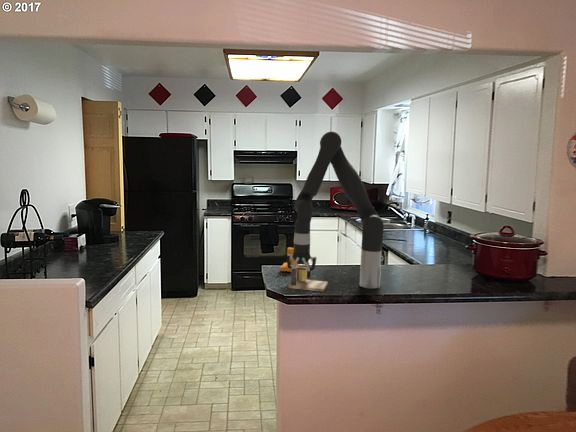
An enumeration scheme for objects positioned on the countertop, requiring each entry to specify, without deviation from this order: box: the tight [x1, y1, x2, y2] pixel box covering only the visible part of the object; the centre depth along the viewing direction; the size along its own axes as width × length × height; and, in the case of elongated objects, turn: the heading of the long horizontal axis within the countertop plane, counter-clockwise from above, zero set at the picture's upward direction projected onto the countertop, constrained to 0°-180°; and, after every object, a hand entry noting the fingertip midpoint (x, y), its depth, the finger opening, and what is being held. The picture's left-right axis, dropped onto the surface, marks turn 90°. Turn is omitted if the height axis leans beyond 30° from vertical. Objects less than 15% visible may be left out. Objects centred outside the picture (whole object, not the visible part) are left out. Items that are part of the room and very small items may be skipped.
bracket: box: [280, 246, 299, 273], centre depth 235 cm, size 11×7×12 cm, turn 169°
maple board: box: [287, 269, 329, 293], centre depth 209 cm, size 16×12×8 cm
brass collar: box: [294, 266, 309, 281], centre depth 212 cm, size 6×6×5 cm
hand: (300, 277), depth 212 cm, fingers closed on brass collar, 6 cm apart
